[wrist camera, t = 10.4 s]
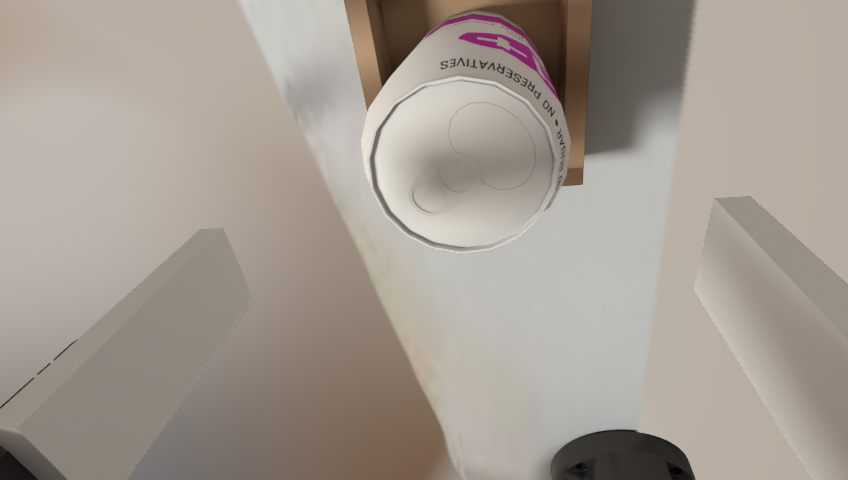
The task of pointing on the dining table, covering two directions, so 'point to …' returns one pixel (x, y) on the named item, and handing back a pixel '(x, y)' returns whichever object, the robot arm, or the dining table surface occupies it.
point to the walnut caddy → (522, 3)
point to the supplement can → (467, 136)
